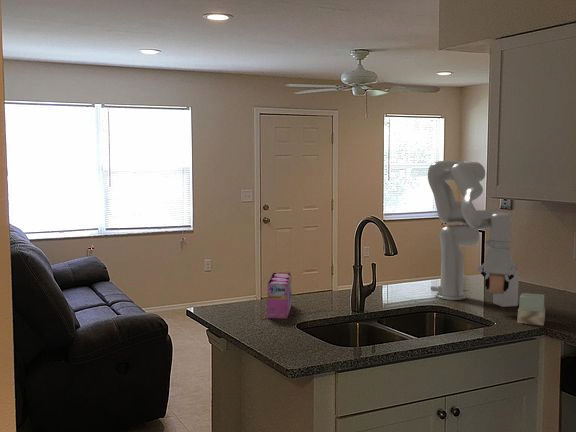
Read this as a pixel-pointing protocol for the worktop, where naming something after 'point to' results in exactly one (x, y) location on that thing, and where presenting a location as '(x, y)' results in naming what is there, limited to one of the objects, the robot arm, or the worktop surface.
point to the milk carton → (508, 293)
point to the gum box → (279, 296)
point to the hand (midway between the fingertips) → (496, 289)
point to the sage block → (531, 302)
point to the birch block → (531, 317)
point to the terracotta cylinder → (496, 283)
